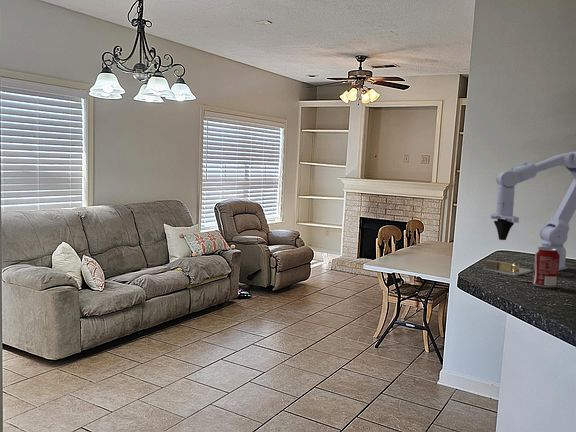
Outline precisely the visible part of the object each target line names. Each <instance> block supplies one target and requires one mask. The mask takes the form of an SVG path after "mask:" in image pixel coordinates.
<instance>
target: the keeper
mask: <svg viewBox="0 0 576 432" xmlns="http://www.w3.org/2000/svg"><path fill="white" fill-rule="evenodd" d="M485 262H486V263H485V264H486V265H485V267H486V269H492V270H500V271H506V272H507V270H502V269H498V264H499V263H495V262H489V261H487V260H486V261H485Z"/></svg>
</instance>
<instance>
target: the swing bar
mask: <svg viewBox="0 0 576 432" xmlns="http://www.w3.org/2000/svg"><path fill="white" fill-rule="evenodd" d="M487 261H489V262H495V263H499V264H498V269H502V270H507V271H513V272H519V268H521V267H520V264H519V263H518V262H513V263H511V262H507V261H500V260H499V261H498V260H494V259H486V262H487Z"/></svg>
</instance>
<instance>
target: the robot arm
mask: <svg viewBox="0 0 576 432" xmlns="http://www.w3.org/2000/svg"><path fill="white" fill-rule="evenodd" d="M558 166H560V167H565V168H566V169H567V170H568V171H569V173H570V174H571V176H572V178H573V180H572V182H571V184H570V186H569V188H568V189H567V191H566V193H565V196H564V197H563V199H562V200H561V203H560V204H559V207H558V208H557V210H556V212H555V214H554V216H553V217H552V218H551V219H549V220H548V221H547V223H546V225H544V226H543V227H542V228H541V229H540V232H539V236H540V239H541V240H542V241H541V246H540V247H549V248H555V249H558V253H559V255H560V259H559V270H558V272H559V271H563V270H566V269H568V266H566V259H567V258H566V256H567V251H566V248H565V246H564V244H565V243H566V242H567V240H568V233H569V231H570V225H569V223H570V222H571V220H572V218H573V215H574V214H575V211H576V151H568V152H565V153H560V154H557V155H554V156H551V157H549V158H547V159H545V160H542V161H539V162H537V163H535V164H534V163H532V162H522V163H521V165H519V166H516V167H510V168H509V170H508V171H506V170H503V171H501V172H500V173H499V174H498V175H497V177H495V178H496V183H497V184H498V185H497V188H498V189H497V199H496V210H495V211H496V212H495V213H490V219H492V220H493V219H494V220H493V224H494V225H495V227H496V230H497V231H496V232H497V235H498V240H500V241H506V240H507V238H508V235H509V233H510V230H511V229H512V227H513V226H514V225H515V224H516V223H519V220H520V218H519V217H518V216H514V206H515V205H514V204H515V202H514V201H515V190H516V189H515V188H516V185H518V184H520V183H524V182H526V181H528V180H531V179H533V178H536V176H538V175H537V174H538V173H540V172H543V171H546V170H549V169H552V168H555V167H558Z"/></svg>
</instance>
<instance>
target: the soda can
mask: <svg viewBox="0 0 576 432" xmlns="http://www.w3.org/2000/svg"><path fill="white" fill-rule="evenodd" d="M559 259H560V255H559V253H558V249H555V248H549V247H541V246H538V247H537V250H536V252H535V255H534V263H533V265H534V267H533V277H532V278H533V279H532V284H533V285H535V286H536V287H538V288H542V289H554V288H557V287H558V282H559V281H558V280H559V279H558V278H559V271H560V270H559ZM558 270H559V271H558Z"/></svg>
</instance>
